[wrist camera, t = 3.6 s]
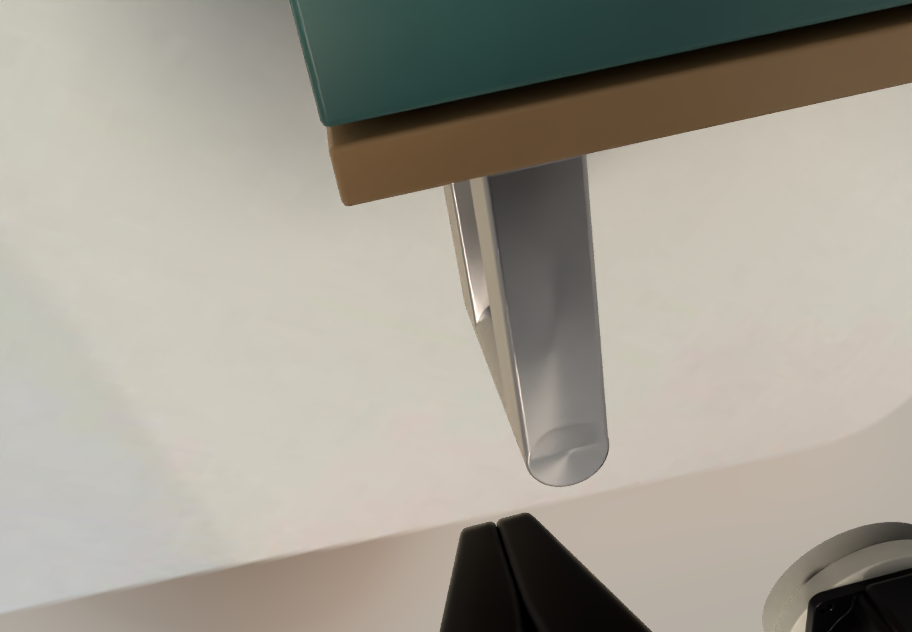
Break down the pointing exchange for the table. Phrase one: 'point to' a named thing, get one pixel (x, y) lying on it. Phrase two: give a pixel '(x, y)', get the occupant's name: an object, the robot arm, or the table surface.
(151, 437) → the table surface
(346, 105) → the green cabinet
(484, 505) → the table surface
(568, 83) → the wooden cabinet door
